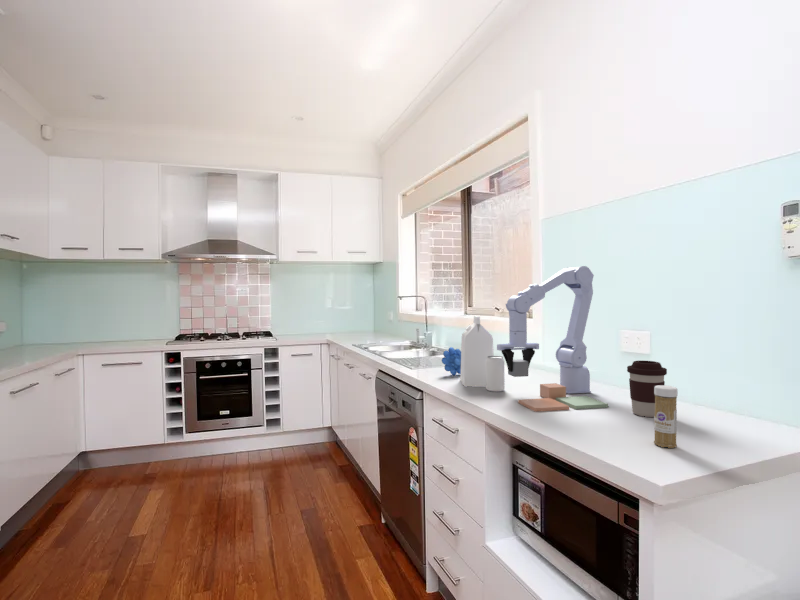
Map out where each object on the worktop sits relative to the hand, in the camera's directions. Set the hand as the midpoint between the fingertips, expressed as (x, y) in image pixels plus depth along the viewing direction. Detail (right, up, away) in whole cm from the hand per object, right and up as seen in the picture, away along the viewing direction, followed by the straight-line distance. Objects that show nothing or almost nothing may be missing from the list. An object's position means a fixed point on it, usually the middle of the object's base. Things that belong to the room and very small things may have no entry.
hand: (518, 371), depth 154 cm
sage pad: (+17, -8, -12) cm, 22 cm away
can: (-6, -9, +9) cm, 14 cm away
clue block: (+11, -8, -3) cm, 14 cm away
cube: (0, -1, 0) cm, 1 cm away
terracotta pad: (+4, -9, -14) cm, 17 cm away
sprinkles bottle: (+20, -9, -51) cm, 56 cm away
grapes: (-17, -8, +39) cm, 43 cm away
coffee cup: (+30, -9, -24) cm, 40 cm away
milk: (-10, -8, +21) cm, 25 cm away
